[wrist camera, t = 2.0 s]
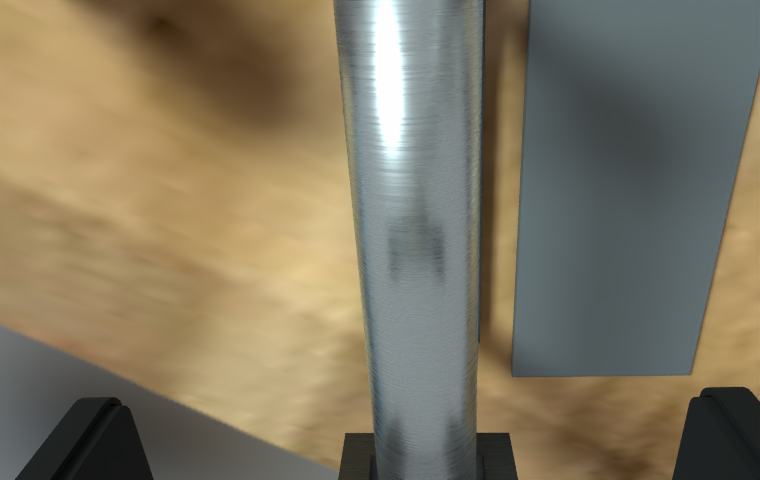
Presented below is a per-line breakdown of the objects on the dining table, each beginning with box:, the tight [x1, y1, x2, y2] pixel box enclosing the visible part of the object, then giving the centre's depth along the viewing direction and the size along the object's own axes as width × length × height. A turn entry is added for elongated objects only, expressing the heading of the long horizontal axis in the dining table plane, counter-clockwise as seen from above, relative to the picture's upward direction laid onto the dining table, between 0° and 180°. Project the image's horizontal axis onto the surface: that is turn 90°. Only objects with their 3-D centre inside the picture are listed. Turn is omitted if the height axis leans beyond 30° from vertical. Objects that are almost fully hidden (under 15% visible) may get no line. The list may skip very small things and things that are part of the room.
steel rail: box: [333, 0, 483, 480], centre depth 14 cm, size 24×3×3 cm, turn 4°
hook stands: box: [338, 0, 518, 480], centre depth 20 cm, size 6×24×16 cm, turn 4°
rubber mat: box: [511, 0, 760, 377], centre depth 26 cm, size 10×30×1 cm, turn 4°
